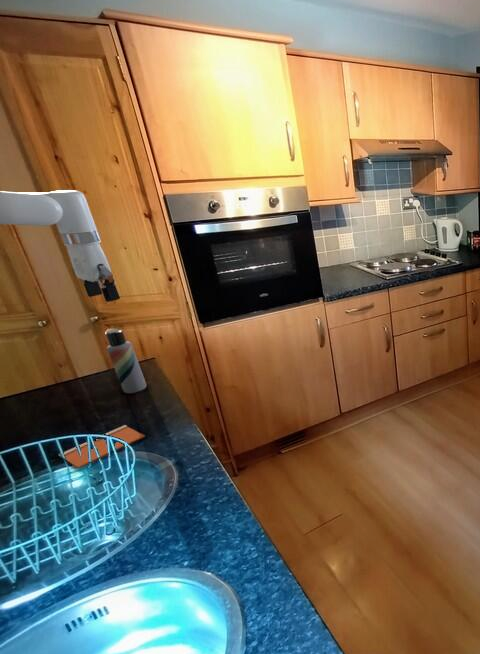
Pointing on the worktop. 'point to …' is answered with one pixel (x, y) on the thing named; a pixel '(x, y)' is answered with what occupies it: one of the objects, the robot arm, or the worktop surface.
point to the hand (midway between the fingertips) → (104, 297)
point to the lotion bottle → (125, 361)
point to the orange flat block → (101, 446)
